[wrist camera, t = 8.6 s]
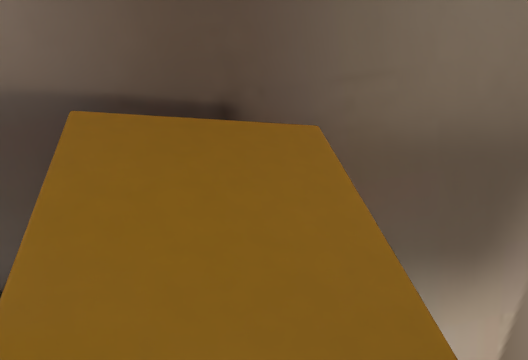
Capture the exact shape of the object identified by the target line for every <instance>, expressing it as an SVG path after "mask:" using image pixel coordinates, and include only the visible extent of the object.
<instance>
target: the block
mask: <svg viewBox="0 0 528 360" xmlns="http://www.w3.org/2000/svg"><path fill="white" fill-rule="evenodd" d="M0 360H458V359H457V358H456V356H455V354H454V353H453V351H452V349H451V348H450V346H449V344H448V343H447V341H446V339H445V338H444V336H443V334H442V332H441V331H440V329H439V327H438V326H437V324H436V322H435V321H434V319H433V317H432V316H431V314H430V312H429V311H428V309H427V307H426V306H425V304H424V302H423V301H422V299H421V297H420V296H419V294H418V292H417V291H416V289H415V287H414V286H413V284H412V282H411V280H410V279H409V277H408V275H407V274H406V272H405V270H404V269H403V267H402V265H401V264H400V262H399V260H398V259H397V257H396V255H395V254H394V252H393V250H392V249H391V247H390V245H389V244H388V242H387V240H386V239H385V237H384V235H383V234H382V232H381V230H380V229H379V227H378V225H377V223H376V222H375V220H374V218H373V217H372V215H371V213H370V212H369V210H368V208H367V207H366V205H365V203H364V202H363V200H362V198H361V197H360V195H359V193H358V192H357V190H356V188H355V187H354V185H353V183H352V182H351V180H350V178H349V177H348V175H347V173H346V172H345V170H344V168H343V166H342V165H341V163H340V161H339V160H338V158H337V156H336V155H335V153H334V151H333V150H332V148H331V146H330V145H329V143H328V141H327V140H326V138H325V136H324V135H323V133H322V131H321V130H320V128H319V127H318V126H314V125H298V124H281V123H265V122H248V121H232V120H216V119H199V118H183V117H166V116H150V115H134V114H117V113H101V112H85V111H70V113H69V115H68V118H67V121H66V123H65V126H64V129H63V131H62V134H61V137H60V139H59V142H58V145H57V148H56V150H55V153H54V156H53V158H52V161H51V164H50V166H49V169H48V172H47V174H46V177H45V180H44V182H43V185H42V188H41V191H40V193H39V196H38V199H37V201H36V204H35V207H34V209H33V212H32V215H31V217H30V220H29V223H28V226H27V228H26V231H25V234H24V236H23V239H22V242H21V244H20V247H19V250H18V252H17V255H16V258H15V260H14V263H13V266H12V269H11V271H10V274H9V277H8V279H7V282H6V285H5V287H4V290H3V293H2V295H1V298H0Z"/></svg>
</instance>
